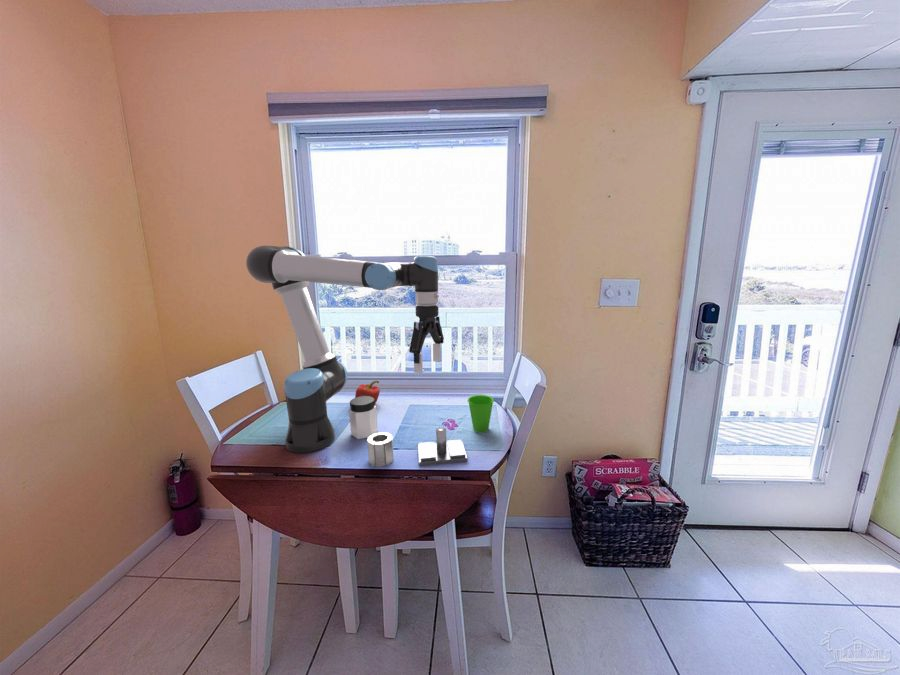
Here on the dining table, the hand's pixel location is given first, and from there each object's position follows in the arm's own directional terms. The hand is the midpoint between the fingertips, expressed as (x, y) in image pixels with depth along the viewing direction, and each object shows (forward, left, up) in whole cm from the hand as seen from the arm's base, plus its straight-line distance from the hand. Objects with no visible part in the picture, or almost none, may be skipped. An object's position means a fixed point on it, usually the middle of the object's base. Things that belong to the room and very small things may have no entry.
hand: (428, 366), depth 118 cm
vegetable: (-24, +24, -23) cm, 40 cm away
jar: (-23, 0, -23) cm, 32 cm away
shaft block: (+2, -18, -22) cm, 29 cm away
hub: (-16, -18, -22) cm, 33 cm away
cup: (+17, -4, -23) cm, 29 cm away
